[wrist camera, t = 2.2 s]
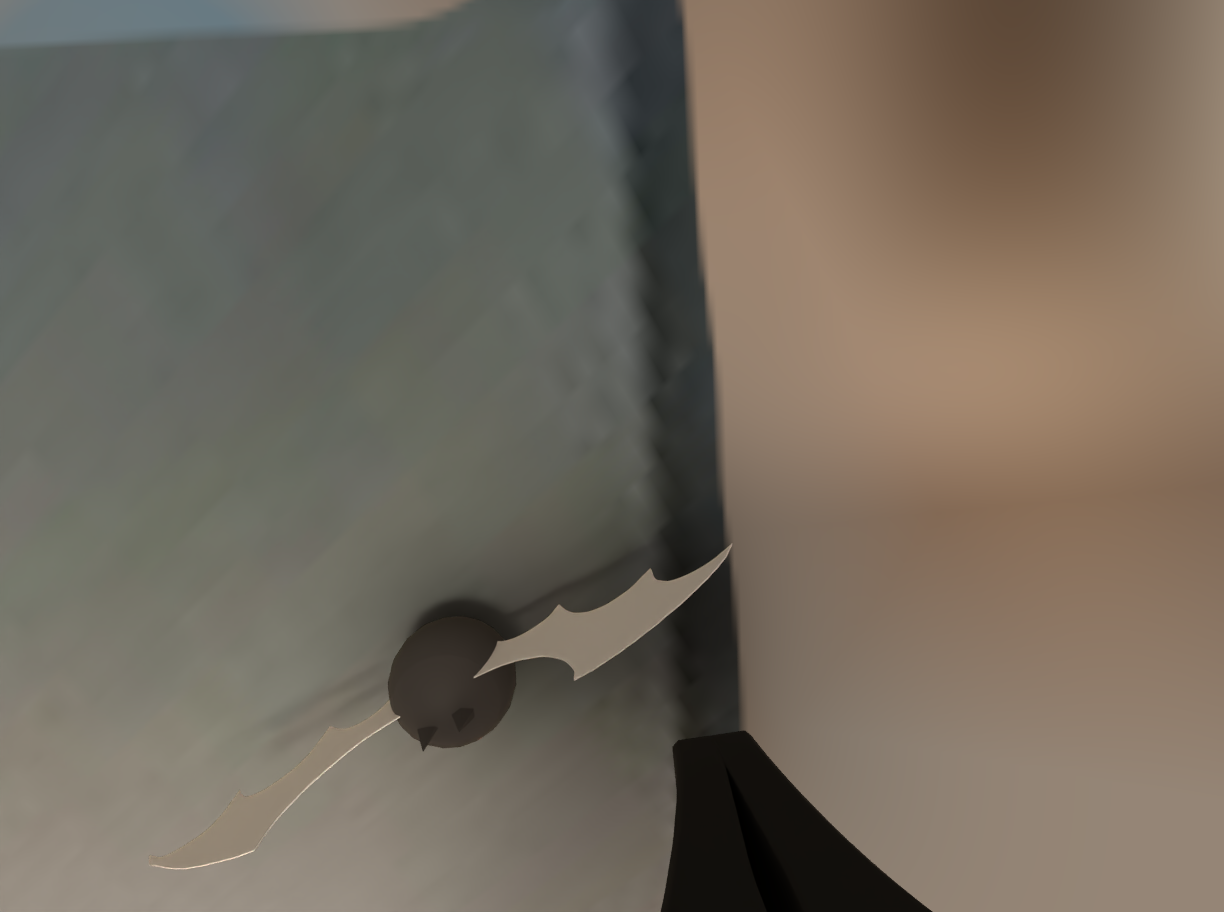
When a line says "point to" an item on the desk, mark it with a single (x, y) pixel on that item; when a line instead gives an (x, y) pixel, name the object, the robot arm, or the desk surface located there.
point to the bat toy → (449, 696)
